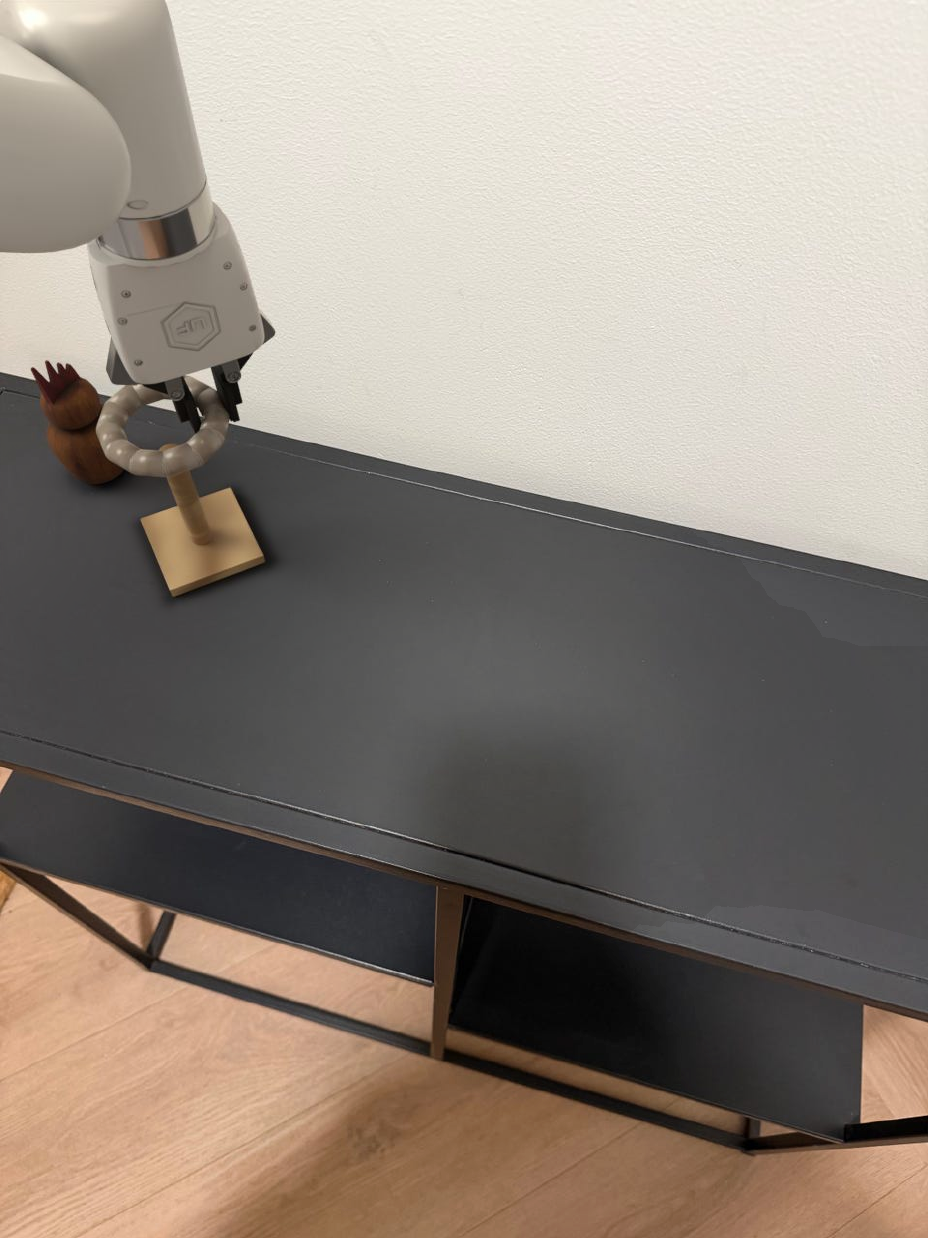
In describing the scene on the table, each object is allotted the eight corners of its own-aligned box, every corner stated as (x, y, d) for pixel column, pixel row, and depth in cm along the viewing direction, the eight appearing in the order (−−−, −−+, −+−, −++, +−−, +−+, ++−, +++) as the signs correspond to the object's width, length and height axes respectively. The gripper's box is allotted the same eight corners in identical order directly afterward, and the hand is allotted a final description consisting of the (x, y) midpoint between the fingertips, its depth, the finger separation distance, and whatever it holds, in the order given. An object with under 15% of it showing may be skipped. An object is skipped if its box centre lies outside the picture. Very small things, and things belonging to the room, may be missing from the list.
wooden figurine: (86, 503, 82) (26, 392, 69) (57, 467, 84) (-7, 352, 71) (148, 470, 85) (100, 356, 72) (118, 436, 86) (67, 319, 73)
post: (173, 597, 77) (132, 510, 66) (143, 525, 81) (99, 432, 70) (265, 562, 80) (241, 472, 68) (232, 494, 84) (204, 399, 72)
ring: (124, 498, 64) (115, 482, 62) (87, 410, 68) (78, 392, 66) (248, 455, 67) (243, 438, 65) (205, 372, 71) (200, 354, 69)
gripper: (34, 280, 48) (128, 482, 64) (294, 211, 53) (322, 416, 69) (3, 205, 52) (100, 415, 68) (252, 146, 56) (287, 356, 72)
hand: (211, 414), depth 68 cm, fingers closed on ring, 2 cm apart
